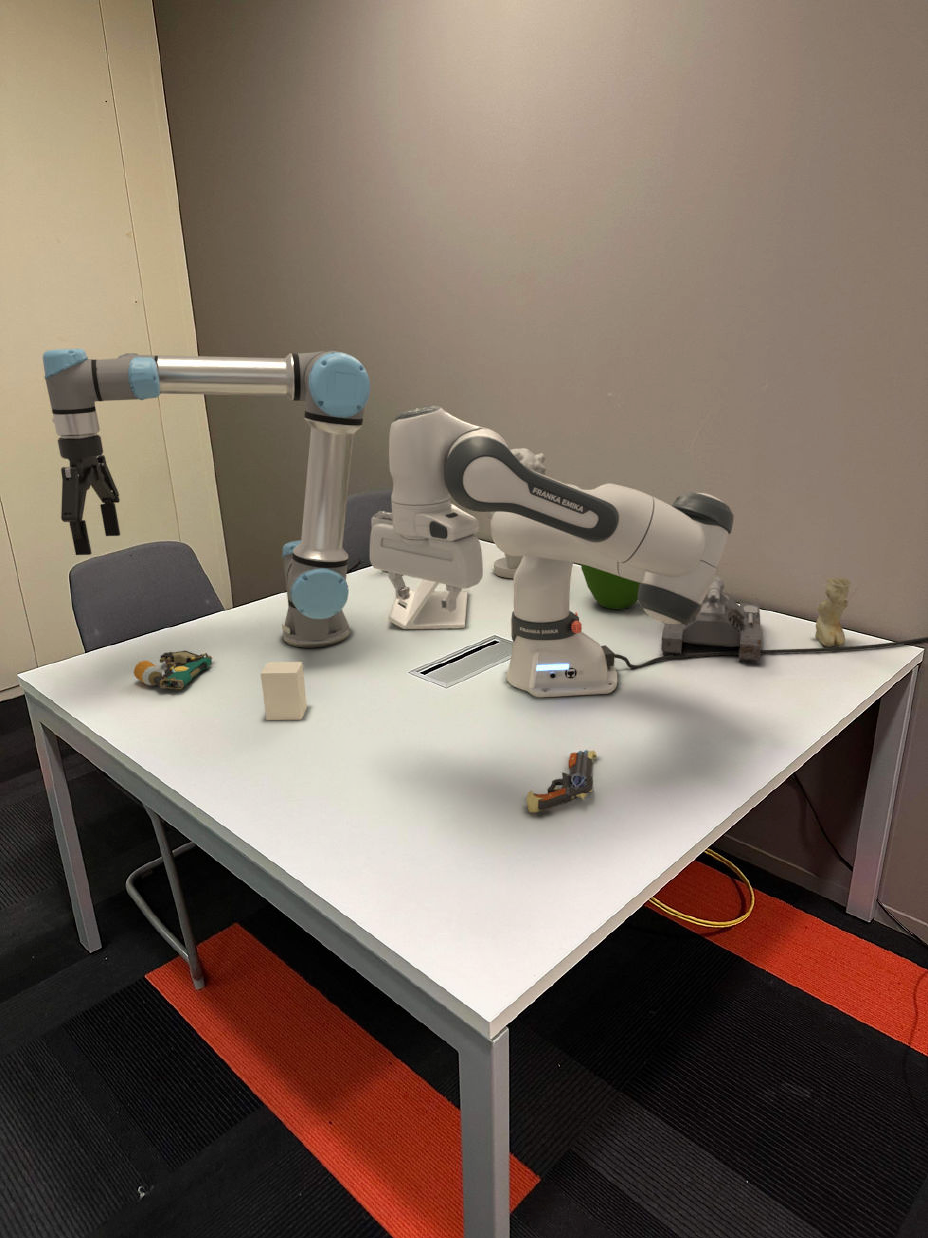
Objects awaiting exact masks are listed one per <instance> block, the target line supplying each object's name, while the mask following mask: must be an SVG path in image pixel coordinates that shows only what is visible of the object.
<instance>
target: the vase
mask: <svg viewBox="0 0 928 1238" xmlns="http://www.w3.org/2000/svg"><path fill="white" fill-rule="evenodd" d="M580 569H581V571H582V574H583V577H584V580H585V583H586V585H587V588H588V590H589V591H590V594H592V597H593V598H594V600H595V601H596V602H597V603H598V604H599V605H600V606H602V607H604V608H606V609H609V610H625V609H628V608H630V607H632V606H634V604H636V602H638V591H639V585H640V582H636V581H632V580H629V579H626V578H623V577H620V576H617V575H614V574H611V573H609V572H606V571H603V570H600V569H597V568H594V567H591V566H587V565H583V564H580Z"/></svg>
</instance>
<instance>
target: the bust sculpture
mask: <svg viewBox="0 0 928 1238" xmlns="http://www.w3.org/2000/svg"><path fill="white" fill-rule="evenodd" d="M510 451H511V452H512V454H513V455H514V456H515V457H516V458H517V459H518V460H519V461H520V462H521V463H522V464H523V465H524V466H525V467H527V468H528V469H530V470H532V471H535V472H537V473H540V474H542V475H545V476H546V471H547V470H546V469H547V468H546V466H545V464H544V462H545V461H546V456H545V455H544V454H543V452H541V453H540V452H539V453H537V454H535V453H533V452H532V451H531V450H529V449H528V448H525V447H522V448H512V449H510ZM494 513H495V512H485V514H486V517H487V518H488V519H489V520H490V521H491V520H492V517H493V515H494ZM522 558H523V556H511V555H507V554H505V553H504V557H502V558H498V559H496V560H495V561H494V562H493V573H494V574H495V575H496V576H497V577H500V578H506V579H514V575H515V572H516V570H517V568H518V566H519V565H520V563H521V560H522Z"/></svg>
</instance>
